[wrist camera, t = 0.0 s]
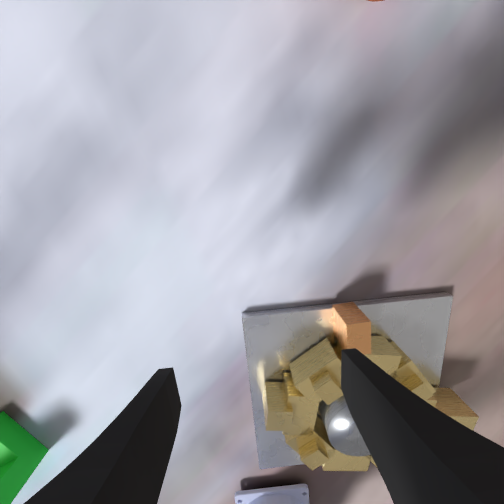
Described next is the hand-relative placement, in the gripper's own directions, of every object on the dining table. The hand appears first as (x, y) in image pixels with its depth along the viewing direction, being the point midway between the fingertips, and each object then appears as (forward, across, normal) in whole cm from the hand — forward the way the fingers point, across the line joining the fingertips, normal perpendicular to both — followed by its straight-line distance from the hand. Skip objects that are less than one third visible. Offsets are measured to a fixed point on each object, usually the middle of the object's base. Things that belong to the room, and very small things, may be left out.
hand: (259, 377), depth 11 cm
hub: (+11, -8, +12) cm, 18 cm away
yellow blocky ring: (+10, -8, +12) cm, 17 cm away
